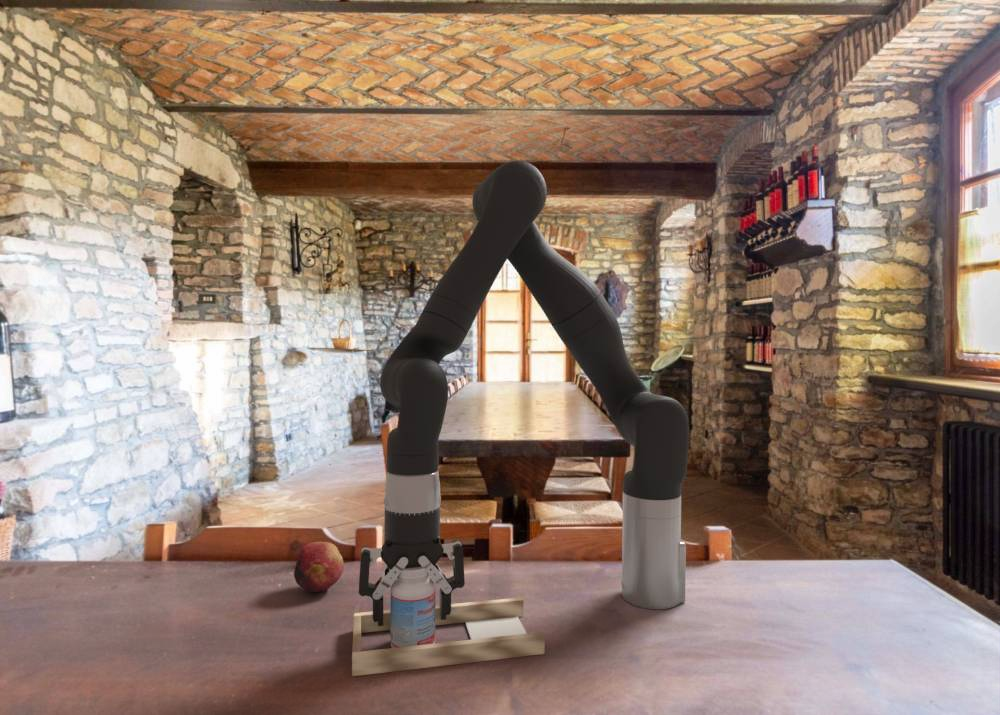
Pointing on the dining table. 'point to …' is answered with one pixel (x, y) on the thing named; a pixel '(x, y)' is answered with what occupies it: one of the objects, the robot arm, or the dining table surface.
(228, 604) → the dining table surface
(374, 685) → the dining table surface
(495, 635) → the front pad
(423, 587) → the pill bottle
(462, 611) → the bay
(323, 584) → the fruit
